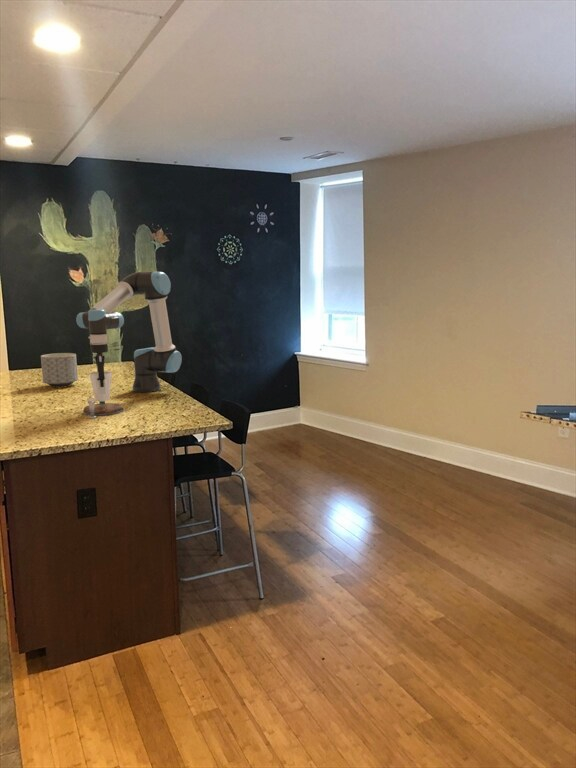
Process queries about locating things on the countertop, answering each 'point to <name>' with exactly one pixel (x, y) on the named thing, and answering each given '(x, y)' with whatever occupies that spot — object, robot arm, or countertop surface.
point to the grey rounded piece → (92, 407)
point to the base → (104, 413)
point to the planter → (59, 369)
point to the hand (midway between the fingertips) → (102, 392)
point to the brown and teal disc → (104, 407)
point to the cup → (96, 385)
